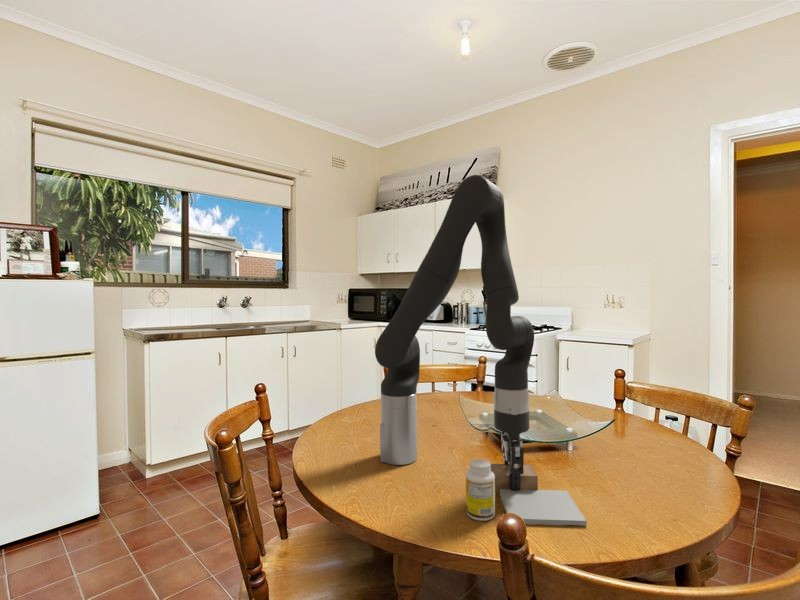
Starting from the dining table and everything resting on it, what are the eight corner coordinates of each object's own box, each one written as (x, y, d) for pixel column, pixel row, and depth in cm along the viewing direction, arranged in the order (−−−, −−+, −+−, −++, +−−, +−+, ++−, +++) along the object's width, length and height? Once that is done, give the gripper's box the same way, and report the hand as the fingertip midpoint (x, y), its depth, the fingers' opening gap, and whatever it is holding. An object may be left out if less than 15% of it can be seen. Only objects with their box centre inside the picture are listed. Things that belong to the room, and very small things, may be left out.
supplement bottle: (475, 504, 88) (475, 454, 88) (500, 513, 85) (500, 461, 84) (460, 515, 84) (460, 463, 84) (486, 525, 80) (485, 471, 80)
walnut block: (490, 493, 93) (490, 474, 93) (486, 481, 99) (486, 463, 99) (537, 494, 92) (537, 476, 92) (531, 482, 98) (531, 464, 98)
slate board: (509, 523, 81) (509, 518, 81) (499, 493, 93) (499, 488, 93) (586, 526, 80) (586, 520, 80) (566, 495, 92) (566, 490, 92)
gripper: (489, 399, 103) (490, 469, 103) (498, 416, 88) (499, 498, 89) (522, 399, 102) (522, 469, 102) (536, 417, 88) (537, 499, 88)
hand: (512, 482), depth 96 cm, fingers closed on walnut block, 6 cm apart
